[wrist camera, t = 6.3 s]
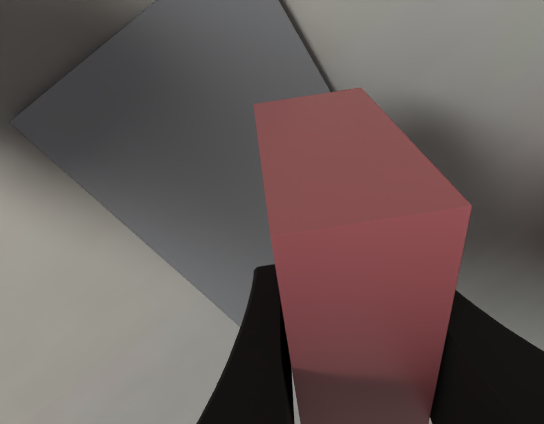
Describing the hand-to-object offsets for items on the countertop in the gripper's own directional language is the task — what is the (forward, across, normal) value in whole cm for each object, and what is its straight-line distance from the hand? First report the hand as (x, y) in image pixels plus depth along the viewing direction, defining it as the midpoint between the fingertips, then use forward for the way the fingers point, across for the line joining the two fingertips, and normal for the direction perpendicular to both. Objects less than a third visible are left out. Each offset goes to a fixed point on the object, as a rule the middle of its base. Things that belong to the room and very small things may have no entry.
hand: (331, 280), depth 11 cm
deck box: (+2, 0, 0) cm, 2 cm away
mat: (+9, +2, +3) cm, 10 cm away
